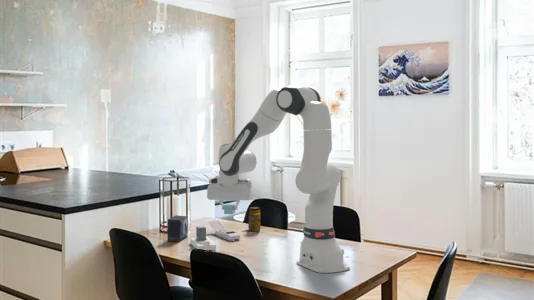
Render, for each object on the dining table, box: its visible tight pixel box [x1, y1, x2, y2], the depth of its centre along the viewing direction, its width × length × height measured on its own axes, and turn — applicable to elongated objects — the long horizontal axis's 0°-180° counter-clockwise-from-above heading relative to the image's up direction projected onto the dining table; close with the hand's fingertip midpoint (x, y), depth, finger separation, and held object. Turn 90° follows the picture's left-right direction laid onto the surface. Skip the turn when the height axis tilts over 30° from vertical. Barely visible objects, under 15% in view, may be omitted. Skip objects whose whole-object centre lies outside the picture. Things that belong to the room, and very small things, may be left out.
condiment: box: [242, 206, 264, 234], centre depth 266 cm, size 7×8×12 cm
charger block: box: [195, 225, 207, 241], centre depth 238 cm, size 4×4×8 cm
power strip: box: [190, 236, 217, 251], centre depth 235 cm, size 16×8×3 cm, turn 20°
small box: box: [167, 214, 188, 243], centre depth 249 cm, size 11×6×10 cm, turn 168°
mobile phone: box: [208, 219, 241, 242], centre depth 255 cm, size 6×6×25 cm
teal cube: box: [223, 203, 236, 215], centre depth 238 cm, size 4×4×4 cm
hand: (229, 209), depth 238 cm, fingers closed on teal cube, 4 cm apart
